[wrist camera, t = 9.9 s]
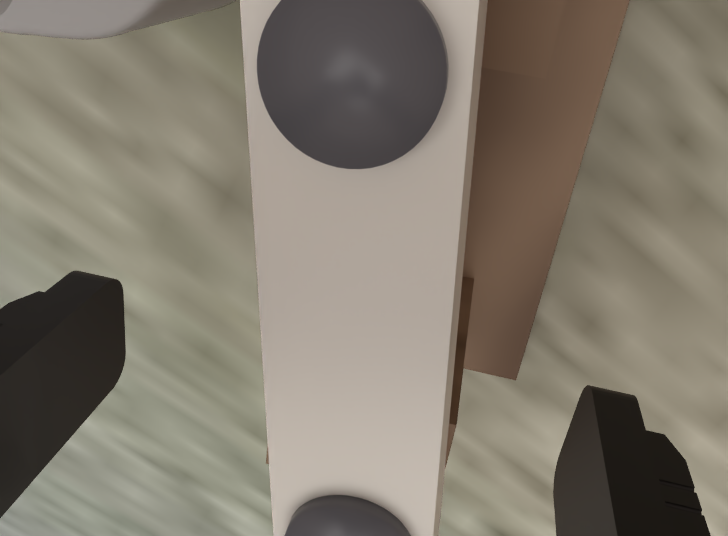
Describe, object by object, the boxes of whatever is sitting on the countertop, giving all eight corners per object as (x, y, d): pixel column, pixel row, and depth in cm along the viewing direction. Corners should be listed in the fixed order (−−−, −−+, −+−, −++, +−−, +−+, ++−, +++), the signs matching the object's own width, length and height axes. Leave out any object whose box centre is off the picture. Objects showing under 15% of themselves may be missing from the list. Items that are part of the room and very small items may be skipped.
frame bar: (309, -140, 13) (217, -169, 9) (500, -139, 12) (492, -171, 8) (320, 497, 20) (273, 634, 16) (440, 517, 19) (421, 664, 15)
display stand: (281, 310, 29) (184, 467, 20) (323, -157, 21) (193, -213, 12) (515, 362, 28) (515, 553, 19) (655, -109, 20) (758, -136, 11)
